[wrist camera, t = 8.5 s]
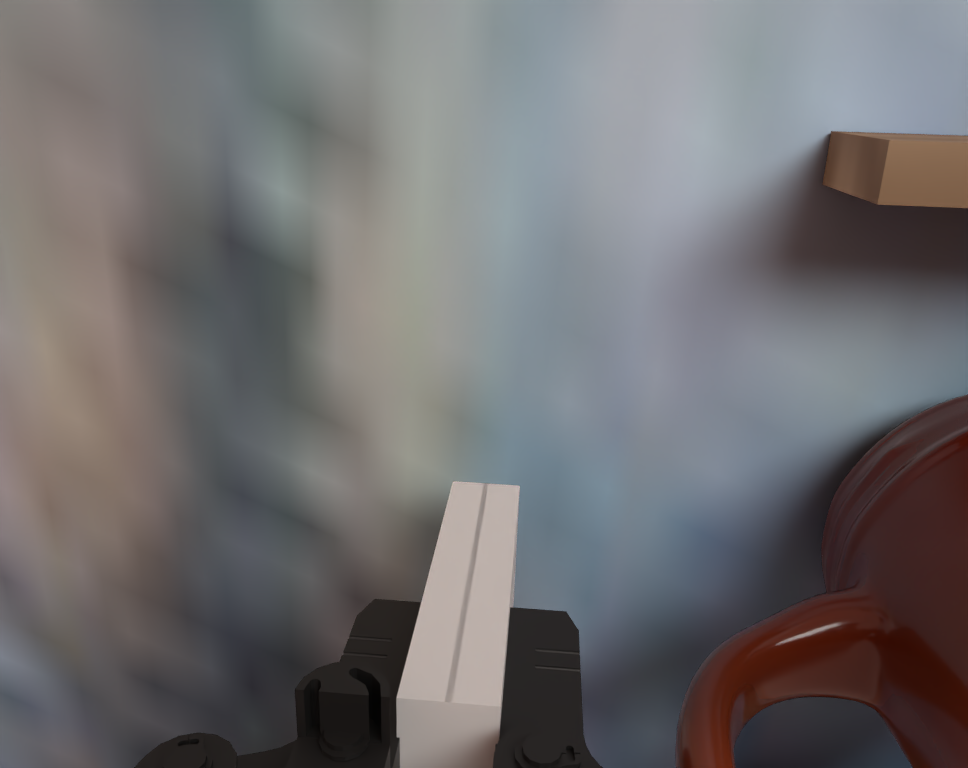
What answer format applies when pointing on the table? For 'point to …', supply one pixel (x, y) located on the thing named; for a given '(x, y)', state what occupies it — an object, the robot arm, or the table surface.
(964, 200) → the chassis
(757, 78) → the table surface
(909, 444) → the mug
